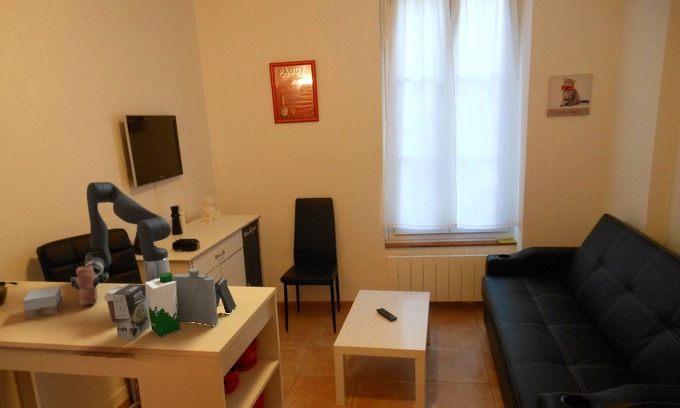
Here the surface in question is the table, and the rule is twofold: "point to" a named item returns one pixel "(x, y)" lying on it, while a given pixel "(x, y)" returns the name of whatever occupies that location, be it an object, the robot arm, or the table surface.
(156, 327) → the milk carton
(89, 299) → the tall block
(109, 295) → the coffee cup
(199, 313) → the hip flask
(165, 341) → the table surface
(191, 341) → the table surface
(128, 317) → the coffee box
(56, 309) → the tower base
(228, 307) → the phone stand
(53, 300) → the tower middle block
